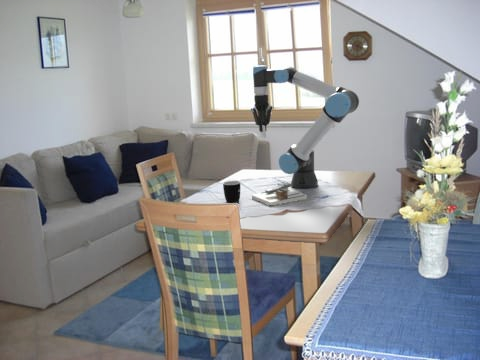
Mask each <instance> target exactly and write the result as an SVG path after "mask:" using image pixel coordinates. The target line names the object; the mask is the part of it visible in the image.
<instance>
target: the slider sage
mask: <svg viewBox="0 0 480 360" xmlns="http://www.w3.org/2000/svg"><path fill="white" fill-rule="evenodd" d="M286 182H287V181H284V180H283V181H282V180H281V181H279V182H277V186H279V185H282V184H283V183H286ZM288 189H289V187H288V188H285V189H284V190H288Z"/></svg>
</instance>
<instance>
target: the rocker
mask: <svg viewBox="0 0 480 360" xmlns="http://www.w3.org/2000/svg"><path fill="white" fill-rule="evenodd" d="M285 182H286V183H283V184H282V185H279V186H278V185H276V186H274V187H271V188H267V189H265V190H264V192H265V193H267V194H271V193H274V192H277V190H280V189H285V188H288V189H289V188H290V187H291V188H292V186H291V182H289V181H285Z"/></svg>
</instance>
